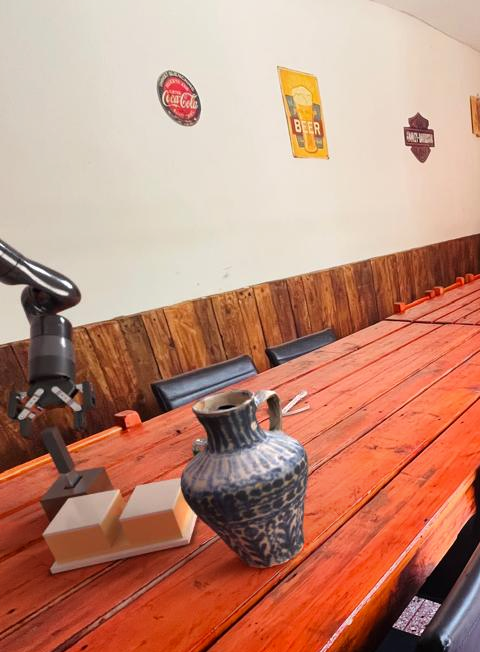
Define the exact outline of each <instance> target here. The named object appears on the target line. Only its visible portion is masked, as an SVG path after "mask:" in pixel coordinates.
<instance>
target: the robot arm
mask: <svg viewBox="0 0 480 652" xmlns="http://www.w3.org/2000/svg"><path fill="white" fill-rule="evenodd" d="M0 283H1V284H3V285H6V286H20V285H21V286H22V285H23V286H25V287H24V288H23V289H22V291H21V294H20V304H21V306H22V309H23V312H24V314H25V318H26V320H27V322H28V324H29V347H28V352H27V353H28V357H27V358H28V359H27V360H28V363H27V365H28V366H27V367H28V369H27V370H28V375H27V376H28V379H27V381H28V385H29V387H28V388H27V391H17V390H13V389H12V390H10V391H9V392H8V403H7V413H6V417H7V418H8V419H10V420H12V421H13V422H15V423H19V435H20V436H21V437H22V438H23V439H25V441H33V440H34V438H35V435H34V434H35V428H34V427H35V423H34V421H35V420H36V418H37V417H38V416H41V415H42V414H43V413H44V412H45V411H52V410H55V409H65V408H66V407H67V406H69V407H70V408H71V409H72V410H73V411H74V412H73V413H72V414H73V415H72V417H73V418H72V419H73V430H74V431H75V432H76V433H84V430H86V428H87V414H88V413H91V412H96V411H97V410H98V403H97V394H96V388H95V387H96V386H94V385H93V384H92V383H91V382H90V381H88V380H83V381H82V382H81V383H78V384H77V356H76V351H75V345H74V343H75V341H74V340H75V339H74V327H73V323H72V322H71V320H70V319H68V318H67V317H65V316H63V315H60V313H62V312H64V311H67V310H69V309H72V308H74V307H76V306H77V305H79V304H80V303H81V301H82V292H81V289H80V288H79V286H78V285H77V284H76V283H75V282H74V281H73V280H72V279H71V278H70V277H68V276H66V275H65V274H64V273H61V272H60V271H58V270H56V269H54V268H52V267H50V266H48V265H45V264H43V263H41V262H39V261H36V260H34V259H32V258H30V257H28V256H25V255H24V254H23V253H22V252H20V251H19V250H18V249H16V248H15V247H14V246H12V245H11V244H9V243H7V242H6V241H5V240H4V239H2V238H1V237H0ZM79 392H80V393H81V394H82V395H83V404H82V405H81V404H79V403H78V402H77V401H76V400H75V399H74V398H75V397H76V396H77V395H78V394H79ZM28 399H29V400H28ZM27 400H28V401H27ZM24 404H25V405H24Z"/></svg>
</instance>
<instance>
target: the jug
mask: <svg viewBox="0 0 480 652" xmlns="http://www.w3.org/2000/svg"><path fill="white" fill-rule="evenodd" d="M265 401H266V404H267V408H268V421H269V424H268V425H269V429H268V430H266V429H263V428H262V427H261V425H260V422H259V421H258V419H257V415H256V414H257V410H258V408H259V407H260V405H261V404H262V403H263V402H265ZM282 409H283V407H282V400H281V398H280V396H279V394H278V393H277V392H276V391H275V390H270V389H263V388H262V389H260V390H258V391H257V392H256V393H255V392H254V391H251V390H249V389H237V388H235V389H231V390H229V391H219V392H217V393H214V394H211V395H207V396H205V397H202V398H199V399H197V401H195V404H193V405H192V407H191V411H192V413H193V414H194V415H195V417H196V419H197V421H198V422H199V423H200V425H201V426H202V427H203V428H204V432H206V433H205V434H206V437H207V440H208V443H207V447H206V448H205V449H204V450H202V451H201V452H199V453H198V454H197V455H196V456H195V457H194V456H193V457H192V458H191V459H190V460H189V461H188V463H187V464H186V466H185V467H184V469H183V471H182V472H181V477H180V478H181V482H180V486H181V491H182V494H183V497H184V499H185V501H186V502H187V504H188V505H189V507H190V508H191V509H192V511H193V512H194V513H195V514H196V515H197V518H198V519H199V520H200V521H201V522H203V523H204V524H205V525H206V526H207V527H209V528H210V530H211V531H213V532H214V533H215V534H216V535H217V536H218V537H219V538H220V539H221V540H222V541H223V542H224V544H225V545H226V546H227V547H228V548H229V549H230V550H231V551H232V552H233V553H234V554H236V556H238V558H239V559H241V561H242V562H243V563H244V564H246V565H247V566H249V567H253V568H257V569H265V568H266V569H267V568H271V567H274V566H280V565H282V564H284V563H287V562H288V561H290V560H291V559H293V558H294V557H296V556H297V555H298V554H299V553H300V552H301V551H302V550H303V547H304V545H305V542H306V541H305V540H306V539H305V534H304V517H305V506H306V505H305V504H306V497H307V491H308V485H309V459H308V454H307V452H306V449H305V448H304V446H303V445H302V443H301V442H300V441H298V440H297V439H296V438H294V437H293V436H291V435H288V434H286V432H284V429H283V416H282Z"/></svg>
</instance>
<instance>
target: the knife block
mask: <svg viewBox="0 0 480 652" xmlns="http://www.w3.org/2000/svg"><path fill="white" fill-rule="evenodd" d="M76 471H77V473H78V475H79V478H80V481H79V483H78V484H77V485H76V487H75V488H71V489H67V487H66V485H65V483H64V480H63V478H62V476H61V475H62V473H61V474H59V476H58V477H57V478H56V479H55V481H54V482H53V483H52V484H51V486H50V487H49V488H48V489H47V490H46V492H45V493H44V494H43V495H42V497H41V498H40V499H39V504H40V505H41V507H42V509H43V511H44V513H45V515H46V517H47V519H48V521H49V524H50V523H51V522H52V520H53V519H54V518H55V516H56V515H57V514H58V512H59V511H60V509H61V508H62V507H63V505H64V504H65V502H66V501H67V500H68V499H69V498H74V497H79V496H84V495H90V494H95V493H101V492H106V491H111V490H115V489H114V486H113V484H112V480H111V479H110V477H109V474H108V472H107V470H106V468H105V466H98V467H93V468H87V469H81V470H76Z"/></svg>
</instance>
